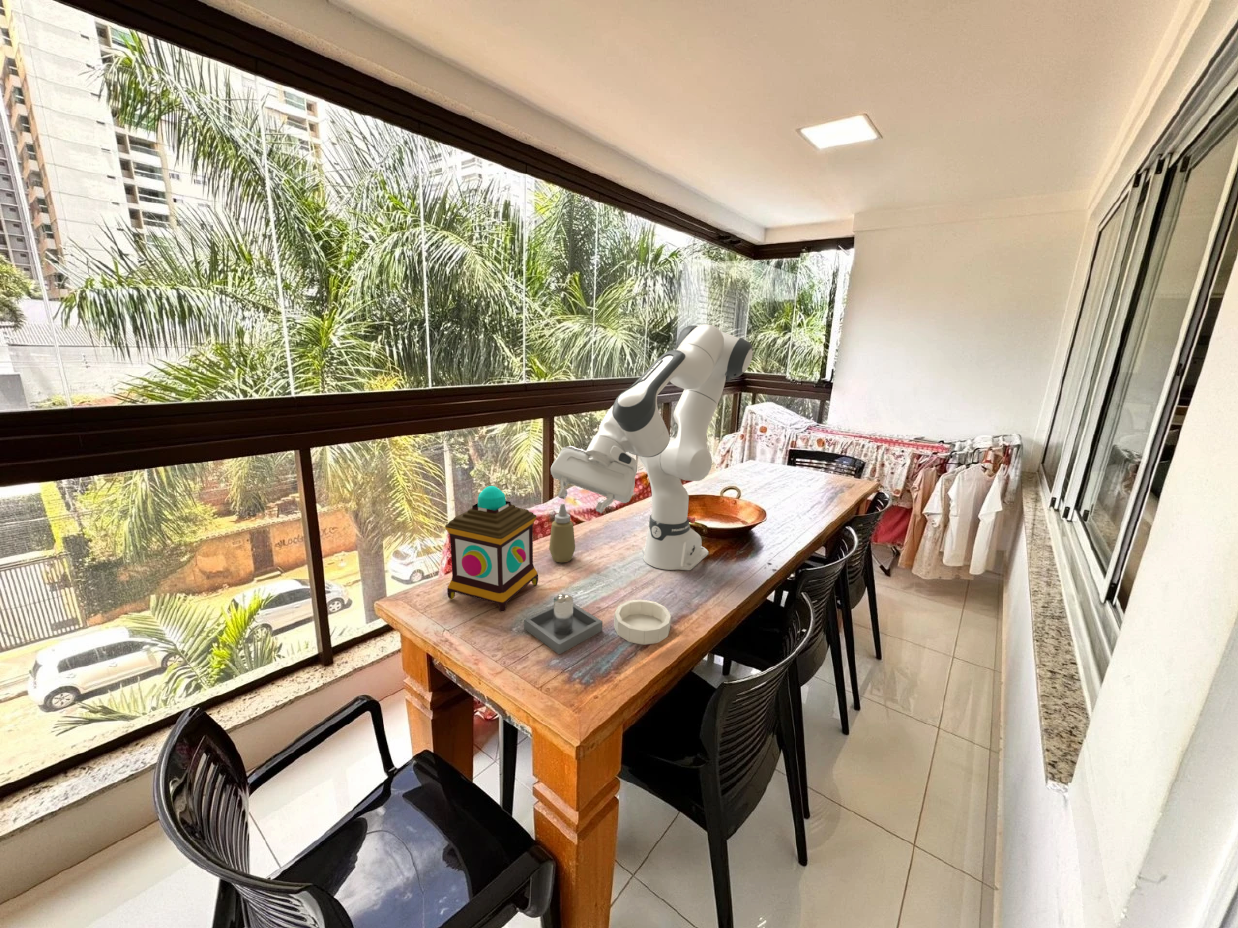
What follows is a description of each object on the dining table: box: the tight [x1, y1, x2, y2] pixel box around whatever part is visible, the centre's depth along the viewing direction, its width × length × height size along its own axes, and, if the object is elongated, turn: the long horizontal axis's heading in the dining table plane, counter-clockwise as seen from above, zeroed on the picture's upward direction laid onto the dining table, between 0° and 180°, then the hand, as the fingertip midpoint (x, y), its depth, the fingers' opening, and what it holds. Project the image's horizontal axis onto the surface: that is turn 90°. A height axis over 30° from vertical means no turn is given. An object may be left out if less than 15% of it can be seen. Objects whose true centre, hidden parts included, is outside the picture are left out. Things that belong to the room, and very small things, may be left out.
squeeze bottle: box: [548, 503, 576, 563], centre depth 152 cm, size 8×8×18 cm
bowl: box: [613, 599, 672, 645], centre depth 119 cm, size 13×13×4 cm
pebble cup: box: [553, 593, 574, 635], centre depth 116 cm, size 4×4×9 cm
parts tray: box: [523, 603, 603, 655], centre depth 117 cm, size 13×13×4 cm
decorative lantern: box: [444, 485, 539, 612], centre depth 131 cm, size 20×20×30 cm
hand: (579, 504), depth 114 cm, fingers open, 8 cm apart
